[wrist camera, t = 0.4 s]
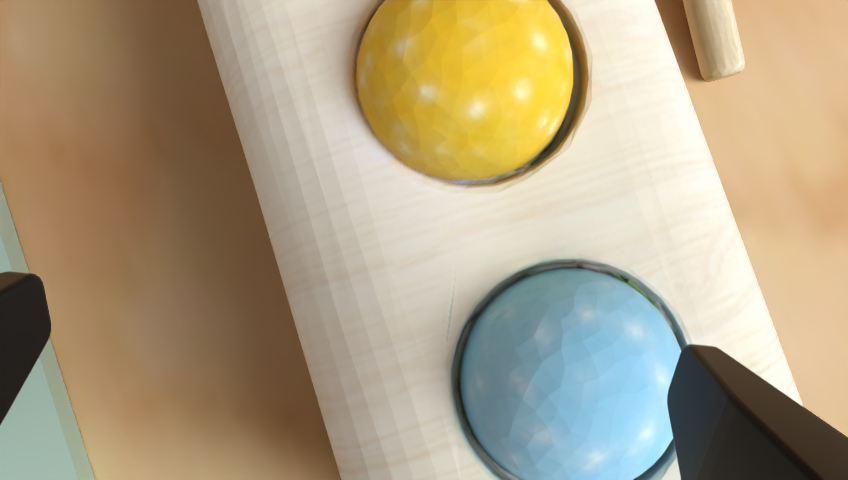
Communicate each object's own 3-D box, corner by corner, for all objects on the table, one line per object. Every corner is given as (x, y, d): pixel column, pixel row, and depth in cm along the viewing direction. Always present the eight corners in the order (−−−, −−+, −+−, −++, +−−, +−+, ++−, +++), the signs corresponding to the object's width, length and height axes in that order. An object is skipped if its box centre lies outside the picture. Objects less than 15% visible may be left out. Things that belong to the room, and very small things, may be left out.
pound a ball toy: (879, 379, 24) (1344, 458, 12) (389, 538, 23) (366, 792, 11) (630, -317, 26) (813, -832, 14) (174, -195, 26) (-35, -634, 14)
